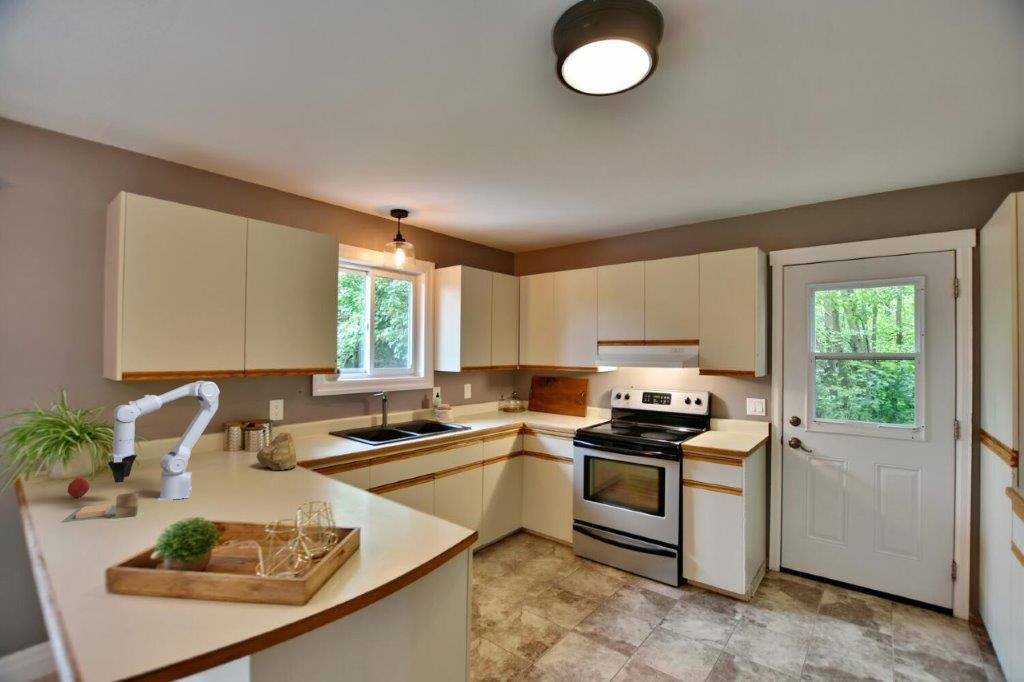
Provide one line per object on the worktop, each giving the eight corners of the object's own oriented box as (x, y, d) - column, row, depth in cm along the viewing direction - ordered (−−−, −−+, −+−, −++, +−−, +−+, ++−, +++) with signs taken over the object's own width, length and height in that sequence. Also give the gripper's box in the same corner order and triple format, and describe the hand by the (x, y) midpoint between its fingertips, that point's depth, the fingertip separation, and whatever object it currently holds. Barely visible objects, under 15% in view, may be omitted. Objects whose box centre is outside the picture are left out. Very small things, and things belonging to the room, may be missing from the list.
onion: (63, 501, 168) (64, 478, 168) (73, 496, 173) (74, 474, 173) (82, 500, 169) (84, 477, 169) (92, 495, 175) (93, 473, 175)
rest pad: (144, 513, 157) (144, 511, 157) (139, 519, 150) (139, 518, 150) (113, 516, 153) (113, 515, 153) (107, 523, 147) (107, 521, 147)
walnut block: (137, 514, 154) (138, 492, 155) (135, 516, 152) (136, 494, 152) (117, 516, 152) (118, 494, 152) (115, 518, 150) (116, 496, 150)
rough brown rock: (257, 465, 230) (255, 434, 230) (294, 459, 238) (293, 430, 238) (257, 477, 210) (255, 444, 209) (298, 471, 218) (296, 438, 217)
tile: (111, 503, 159) (104, 510, 152) (111, 508, 159) (104, 516, 152) (84, 506, 156) (75, 513, 149) (84, 511, 156) (75, 519, 149)
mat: (125, 505, 164) (125, 504, 164) (113, 518, 152) (113, 516, 152) (77, 510, 158) (77, 509, 158) (60, 523, 146) (60, 522, 146)
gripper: (115, 437, 168) (113, 475, 168) (102, 444, 155) (100, 485, 155) (139, 436, 171) (138, 473, 171) (129, 442, 158) (128, 483, 158)
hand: (122, 479), depth 163 cm, fingers open, 7 cm apart
